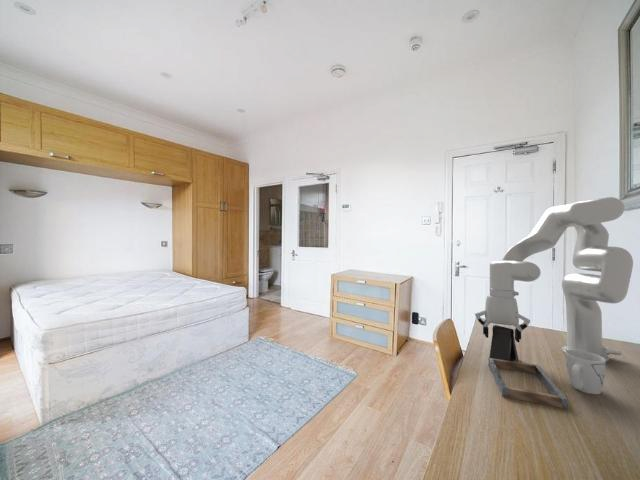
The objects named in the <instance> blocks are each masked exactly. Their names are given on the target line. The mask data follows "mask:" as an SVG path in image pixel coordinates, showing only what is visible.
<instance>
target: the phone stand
mask: <svg viewBox="0 0 640 480" xmlns="http://www.w3.org/2000/svg"><path fill="white" fill-rule="evenodd" d="M491 330H492V335H491V336H492V337H491V343H490V344H491V345H490V350H489V351H490V352H489V357H488V358H493V359H500V360H507V361H514V362H516V361H517V360H519V355H518V351H517V346H516V345H517V344H516V340H515V329H513V328H510V327H506V326H501V325H498V324H496V325H495V324H494V325H493V326H492V329H491Z"/></svg>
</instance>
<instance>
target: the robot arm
mask: <svg viewBox="0 0 640 480" xmlns="http://www.w3.org/2000/svg"><path fill="white" fill-rule="evenodd" d="M624 212H625V205H624V202H623V201H622V200H621V199H619V198H617V197H613V196H609V197H608V196H607V197H600V198H593V199H588V200H581V201H580V200H579V201H575V202H572V203H568V204H562V205H561V204H560V205H555V206H552V207H549V208H548V209H546V210H545V212H544V213H543V214H542V216H541V217H540V219H539V220H538V222H537V223H536V225H535V226H534V228H533V229H532V230H531V232H530V233H529V234H528V235H527V236H526V237H524V238H523V239H521V240H520V241H518V242H517V243H516V244H514V245H513V246H511V247H510V248H509V249H508V250H507V251H506V252H505V254H504V255H503V257H502V258H501V260H500V261H499V260H497V261H491V262H490V263H489V294H488V295H487V296H486V300H485V307H484V310H482V311H479V312H475V313H474V315H475V317H476V319H477V321H478V323H480V324H481V325H482V334H483V335H484V336H485V338H487V339H488V338H489V325H491V324H494V325H495V324H496V325H505V326H506V325H507V326H513V327H515V329H514V340H515V342H517V343H520V340H522V332H523V330H525V329H526V328H528V326H529V324H530V323H531V320H530V319H529V318H528V317H526V316H523V315H522V314H520V313H519V306H518V302H517V298H516V297H517V296H519V294H520V292H519V291H515V281H518V282H519V281H520V282H525V283H526V282H528V283H529V282H533V281H536V280H538V279H539V277H540V276H541V273H542V271H541V269H540V267H539V266H538V265H537V264H535V263H534V262H530V261H525V260H526V259H527V258H529V257H531V256H532V255H535V254H537V253H541V252H544V251H547V250H549V249H552V248H554V247H555V246H556V245H557V243H558V241H559V240H560V239H561V237H562V236H563V234H565V231H566V230H567V229H568V228H571V227H573V228H574V229H575V231H576V241H575V245H574V250H573V254H572V265H573V266H574V267H575V268H576V269H579V270H582V271H588V272H598V273H600V275H599V274H593V273H592V274H591V273H583V272H574V273H569V274H567V275H565V276H564V277H563V279H562V280H561V289H562V291H563V294H564V300H565V310H566V312H565V314H566V317H565V318H566V319H565V320H566V344H567V345H564V346H562V347H561V350H562V352H563V353H564V354H565V351H566V350H581V351H586V352H590V353H594V354H597V355H599V356H601V357H603V358H604V359H605V360H606V363H607V362H609V361H610V355H613V356H622V355H623V354H622V351H621V350H620V349H615V348H614V349H613V348H612V347H608V346H607V347H606V346H604V345H603V320H602V318H603V317H602V316H603V315H602V310H601V307H600V305H599V303H605V304H612V305H613V304H618V303H621V302H622V301H624V299H625V298H627V297H626V296H627V293H628V292H629V291H628V290H629V287H630V282H631V277H632V272H633V268H634V259H633V256H632V255H631V253H630V252H629V251H628V250H627V249H625V248H623V247H619V246H608V245H609V238H610V236H609V235H610V234H609V231H608V229H607V228H606V227H605V226H604V223H607V222H610V221H612V222H613V221H615V220H617V219H619V218H621V217H622V215H623V214H624ZM602 223H603V224H602ZM598 302H599V303H598ZM482 316H484V318H485V319H484V320H483V319H482V318H481V317H482ZM520 320H521V321H523V322H522V323H521V324H519V323H520Z"/></svg>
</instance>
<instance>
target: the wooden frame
mask: <svg viewBox="0 0 640 480" xmlns="http://www.w3.org/2000/svg"><path fill="white" fill-rule="evenodd" d="M487 361H488V366H489V369H490V371H491V374H492V377H494V380H495V382H496V385H497V387H498V389H499V391H500V394H501V396H502V397H505V398H510V399H515V400H520V401H525V402H529V403H535V404H540V405H546V406H550V407H551V406H552V407H555V408H561V409H566V410H568V409H569V405H568V404H569V403H568V398H567V397H566V396H565V394H564V393H563V392H562V391H561V390H560V389H559V388H558V387H557V385H556V384H555V383H554V381H553V380H552V379H551V378H550V377H549V376H548V374H547V373H546V371H544V369H542V367H541V366H540V365H539V364H533V363H527V362H519V361H507V360H500V359H493V358H489V357H488V359H487ZM499 369H506V370H512V371H515V372H516V371H517V372H525V373H530V374H535V375H536V376H537V378H539V380H540V381H541V383H542V384H543V385H544V387H545V388H546V389H547V390H548V391H549V393H547V392H546V393H545V392H541V391H540V392H539V391H536V390H534V391H533V390H529V389H523V388H518V387H513V386H506V383H505V381H504V379H503V377H502V375H501V373H500V371H499Z"/></svg>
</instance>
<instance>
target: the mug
mask: <svg viewBox="0 0 640 480" xmlns="http://www.w3.org/2000/svg"><path fill="white" fill-rule="evenodd" d="M564 354H565V355H564V357H565V365H566V369H567V370H566V371H567V375H568V378H569V382H570V385H571V386H572V388H574V389H576V390H577V391H578V392H579V391H580V392H582V393H585V394H590V395H600V394H601V393H602V390H603V388H604V387H603V386H604V382H605V377H606V365H607V364H606V363H607V362H606V360H605V359H604V358H603V357H601V356H599V355H597V354H594V353H590V352H586V351H581V350H566V351H565V353H564Z"/></svg>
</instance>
